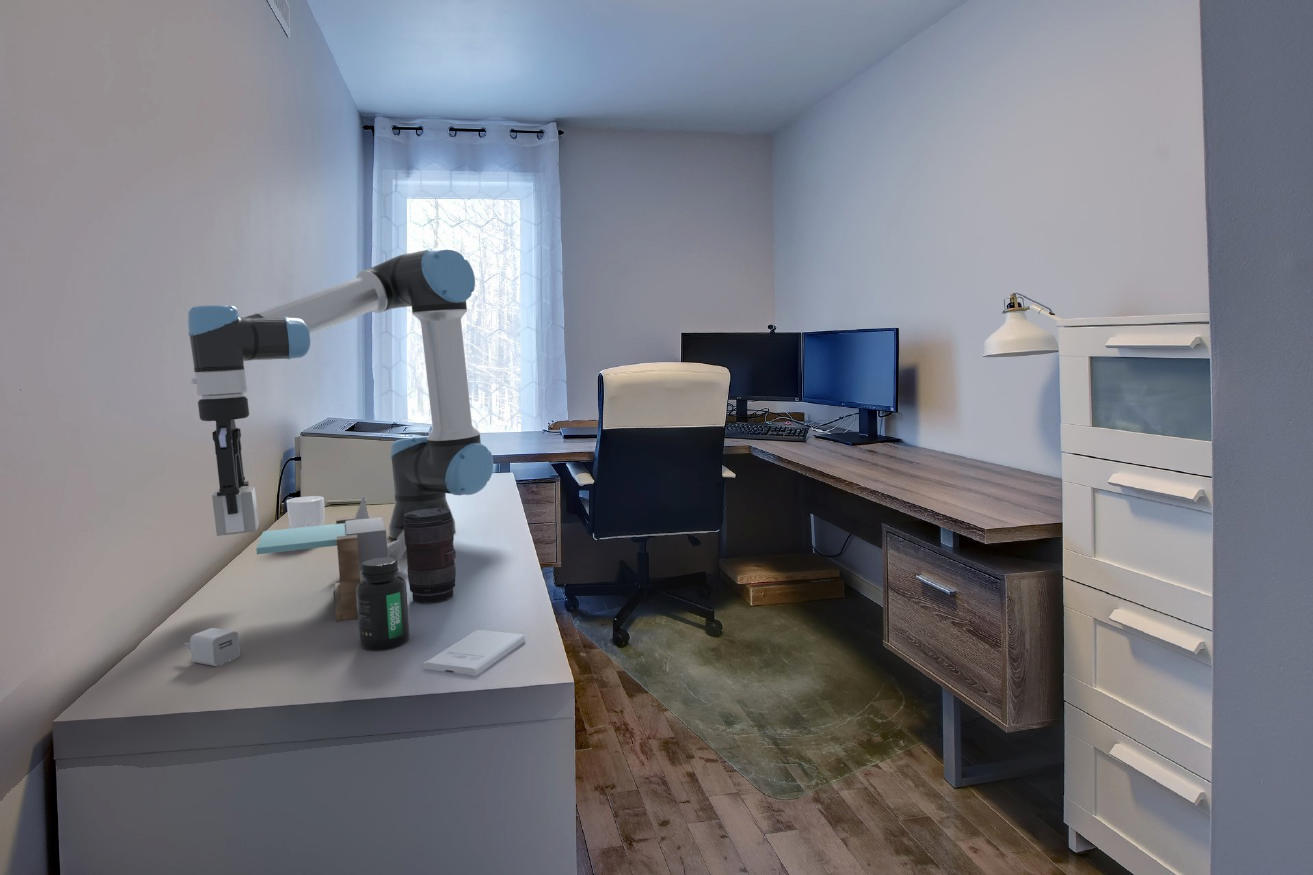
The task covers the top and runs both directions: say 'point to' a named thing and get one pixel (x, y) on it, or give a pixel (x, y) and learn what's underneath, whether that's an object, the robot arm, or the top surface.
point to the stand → (347, 575)
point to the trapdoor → (329, 538)
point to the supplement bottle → (382, 605)
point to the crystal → (393, 548)
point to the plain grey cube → (247, 507)
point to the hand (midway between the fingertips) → (237, 527)
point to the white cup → (306, 511)
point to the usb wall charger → (214, 646)
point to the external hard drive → (475, 652)
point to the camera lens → (430, 554)
